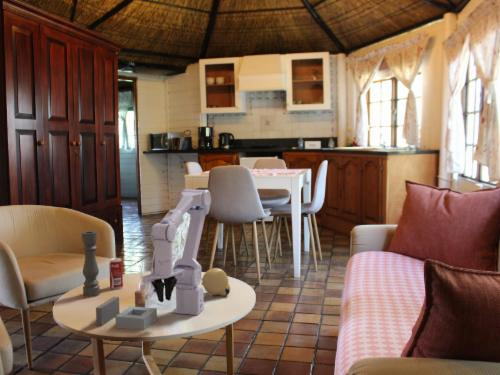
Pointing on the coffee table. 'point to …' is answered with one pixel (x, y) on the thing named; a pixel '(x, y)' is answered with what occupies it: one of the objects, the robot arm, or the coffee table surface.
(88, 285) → the candle holder
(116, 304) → the charcoal wall
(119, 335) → the coffee table surface
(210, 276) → the toy pig
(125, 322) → the socket block
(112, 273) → the soda can
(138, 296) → the dowel
